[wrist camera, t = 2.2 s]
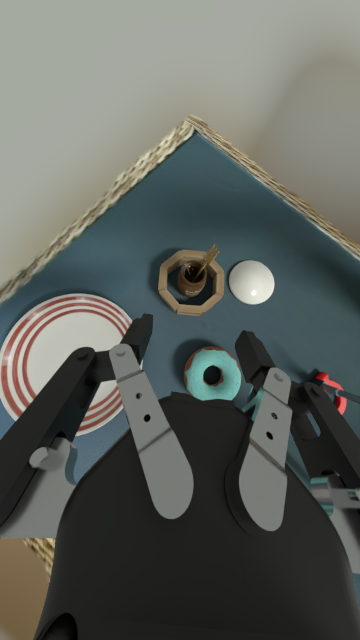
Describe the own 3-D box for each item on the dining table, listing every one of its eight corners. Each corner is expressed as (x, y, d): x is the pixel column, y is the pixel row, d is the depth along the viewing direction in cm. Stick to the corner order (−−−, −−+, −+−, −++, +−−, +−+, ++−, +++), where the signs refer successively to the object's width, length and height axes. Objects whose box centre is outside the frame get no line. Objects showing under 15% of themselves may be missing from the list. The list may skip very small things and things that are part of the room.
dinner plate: (50, 281, 31) (36, 274, 28) (162, 319, 31) (161, 317, 28) (-10, 401, 28) (-35, 409, 24) (116, 445, 28) (109, 459, 25)
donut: (188, 341, 31) (190, 341, 27) (238, 350, 31) (248, 352, 27) (178, 396, 30) (179, 405, 26) (232, 405, 30) (241, 416, 26)
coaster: (250, 253, 34) (252, 251, 34) (281, 285, 34) (283, 284, 33) (219, 279, 33) (220, 278, 32) (250, 313, 32) (252, 313, 32)
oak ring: (192, 247, 34) (194, 238, 31) (231, 289, 33) (237, 284, 30) (148, 282, 32) (145, 276, 29) (187, 327, 31) (188, 326, 28)
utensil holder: (172, 281, 33) (172, 248, 21) (195, 269, 33) (207, 232, 21) (184, 302, 32) (191, 281, 20) (207, 290, 33) (226, 263, 21)
